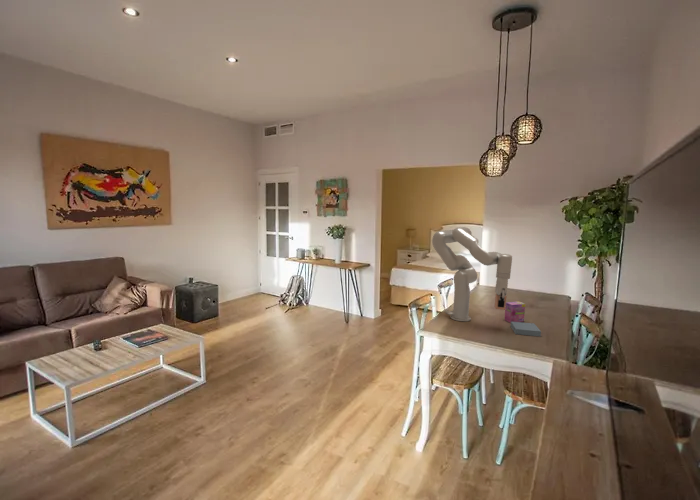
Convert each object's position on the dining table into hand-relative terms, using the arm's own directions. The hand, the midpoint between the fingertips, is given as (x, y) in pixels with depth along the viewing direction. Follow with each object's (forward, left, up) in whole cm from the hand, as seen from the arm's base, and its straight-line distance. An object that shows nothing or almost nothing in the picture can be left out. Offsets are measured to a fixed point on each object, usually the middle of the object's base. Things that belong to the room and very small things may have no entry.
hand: (499, 305), depth 212 cm
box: (+13, +19, -14) cm, 27 cm away
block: (0, 0, -2) cm, 2 cm away
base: (+15, 0, -14) cm, 20 cm away
